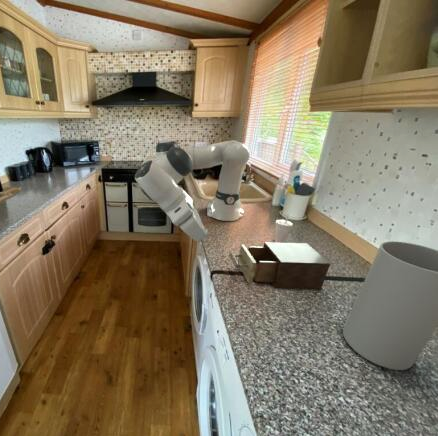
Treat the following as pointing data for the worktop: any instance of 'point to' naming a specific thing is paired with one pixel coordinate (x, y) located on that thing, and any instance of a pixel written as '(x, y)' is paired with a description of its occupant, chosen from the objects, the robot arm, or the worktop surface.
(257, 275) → the drawer
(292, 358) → the worktop surface
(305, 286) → the cabinet
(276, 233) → the smoothie
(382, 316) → the cylinder vase
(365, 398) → the worktop surface
